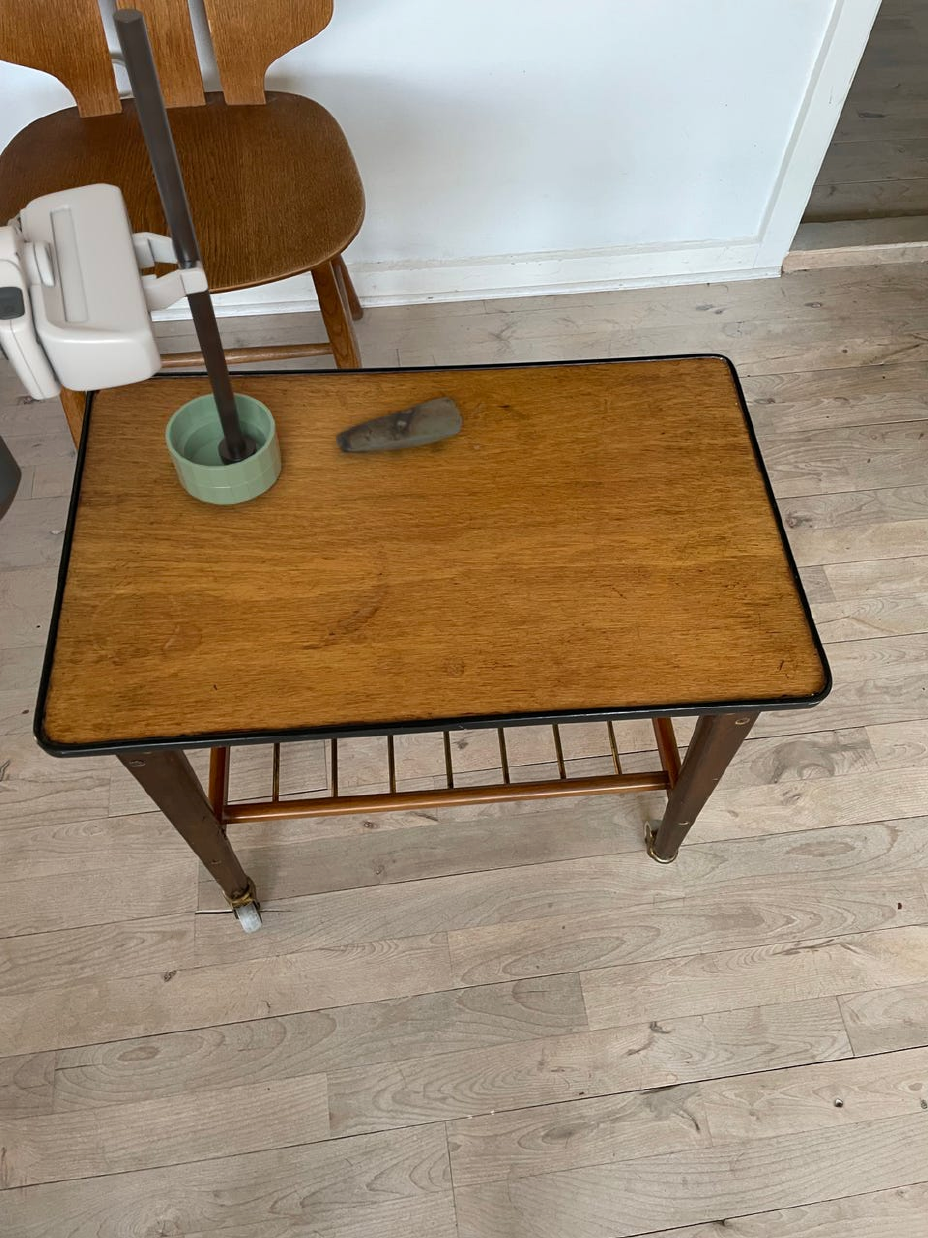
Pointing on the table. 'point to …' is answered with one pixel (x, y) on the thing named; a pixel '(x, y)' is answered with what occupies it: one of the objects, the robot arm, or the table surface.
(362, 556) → the table surface
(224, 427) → the stick
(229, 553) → the table surface
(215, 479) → the bowl
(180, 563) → the table surface
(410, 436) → the stone
